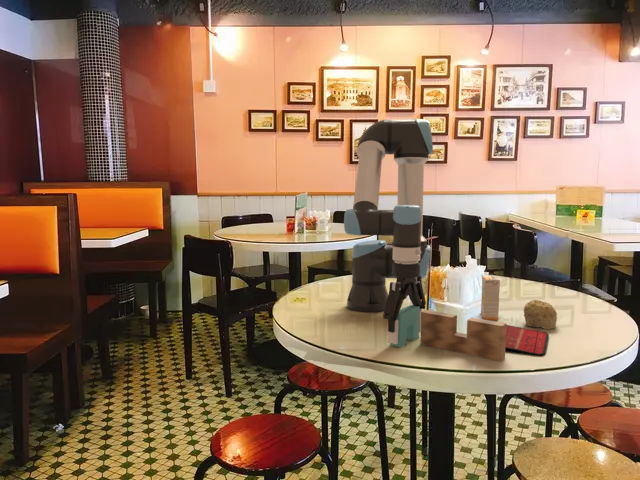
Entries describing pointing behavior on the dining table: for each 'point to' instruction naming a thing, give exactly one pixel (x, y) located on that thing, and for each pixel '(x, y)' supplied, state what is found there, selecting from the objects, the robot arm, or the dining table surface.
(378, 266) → the robot arm
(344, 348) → the dining table surface
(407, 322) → the teal plate
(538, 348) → the binder
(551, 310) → the decorative item
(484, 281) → the supplement box
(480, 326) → the walnut board
